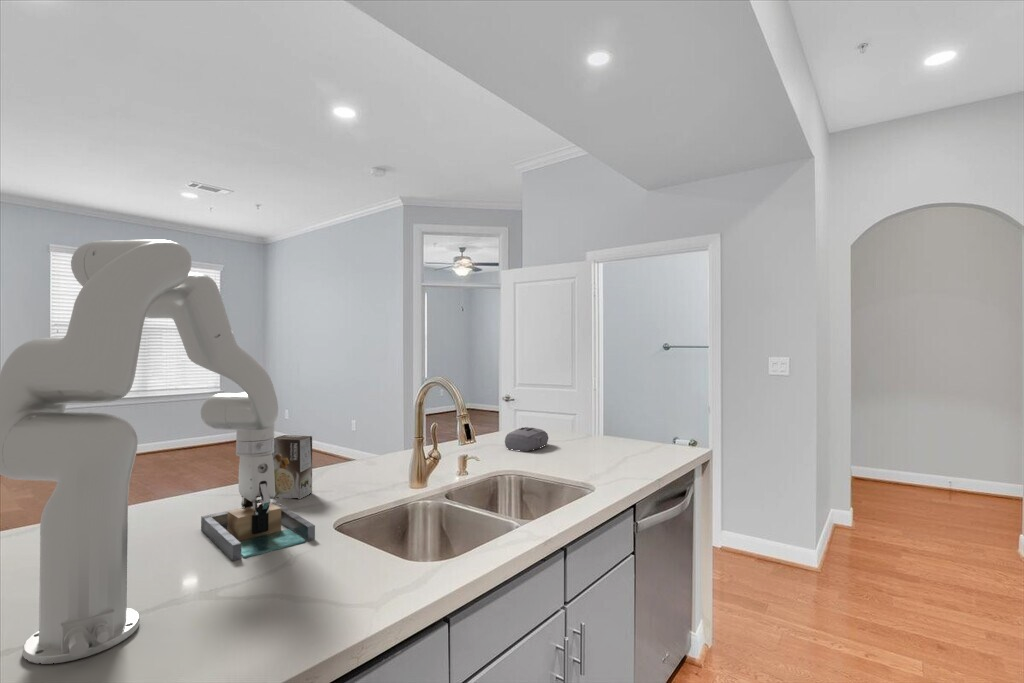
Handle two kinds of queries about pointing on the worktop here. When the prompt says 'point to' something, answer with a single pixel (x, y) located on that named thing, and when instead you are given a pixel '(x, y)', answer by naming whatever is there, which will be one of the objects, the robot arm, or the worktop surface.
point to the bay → (260, 544)
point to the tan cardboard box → (243, 522)
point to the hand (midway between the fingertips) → (254, 527)
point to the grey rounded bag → (526, 439)
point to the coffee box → (292, 466)
